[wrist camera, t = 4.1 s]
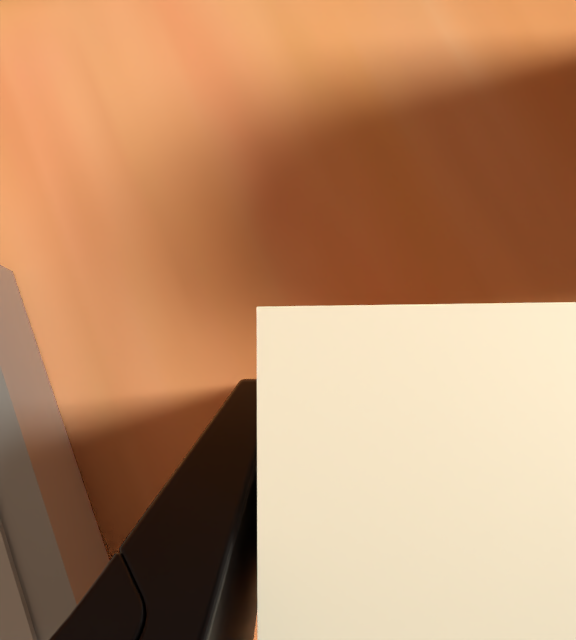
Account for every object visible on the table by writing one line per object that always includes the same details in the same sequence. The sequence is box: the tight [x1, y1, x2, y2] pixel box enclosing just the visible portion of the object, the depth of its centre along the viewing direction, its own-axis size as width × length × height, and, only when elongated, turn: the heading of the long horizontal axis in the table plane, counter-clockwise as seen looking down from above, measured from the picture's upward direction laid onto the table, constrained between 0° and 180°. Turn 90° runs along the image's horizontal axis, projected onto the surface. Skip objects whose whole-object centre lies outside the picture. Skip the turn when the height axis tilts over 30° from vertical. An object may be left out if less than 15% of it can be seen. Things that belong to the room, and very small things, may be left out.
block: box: [257, 302, 576, 640], centre depth 10 cm, size 4×4×10 cm
